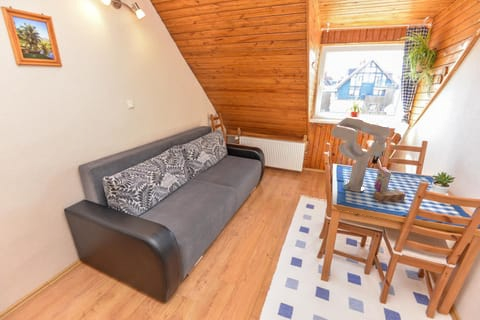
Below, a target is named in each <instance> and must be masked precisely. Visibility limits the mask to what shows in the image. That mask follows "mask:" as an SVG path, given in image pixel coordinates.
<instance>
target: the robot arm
mask: <svg viewBox="0 0 480 320" xmlns="http://www.w3.org/2000/svg"><path fill="white" fill-rule="evenodd" d="M389 127H390V126H388V125H387V124H377V123H375V122H371V121H368V120H365V119H364V118H360V117H354V116H353V117H352V116H347V117H345V118H343V119H341V120H340V121H339V122H338V123H337V124H336V125H334V126H333V128H332V129H331V135H332V136H333V138H335V139H340V140H343V141H342V142H340V144H339V145H338V152H339V153H340V154H341V155H342V156H344V157H346V158H347V159H350V160H352V161H355V162H354V163H353V164H352V165H351V170H350V175H349V179H348V181H347V182H346V183H342V186H343V187H345V188H346V189H347V190H349V191H352V192H356V193H360V192H364V191H365V188H364V187H363V184H364V180H365V176H366V171H367V167H368V165H369V162H370V159H371V157H372V162H371V163H372V164H373V165H377V164H378V161H379V159H380V160H381V159H383V156H384V155H385V151H386V150H385V149H386V141H387V138H388V137H389V136H390V134H391V129H390V128H389ZM358 132H359V133H362V134H365V135H368V136H373V137H374V139H373V141H372V143H371V145H370V149H369V150H367V149H365V148H363V147H362V146H361V145H360V144H359V143H357V141H358V138H359V133H358Z"/></svg>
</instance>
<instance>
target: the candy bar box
mask: <svg viewBox="0 0 480 320" xmlns="http://www.w3.org/2000/svg"><path fill="white" fill-rule="evenodd" d="M391 176H392V172H391V171H390V170H389V169H387V167H384V166H382V167H381V166H378V169H377V174H376V177H375V182H374V187H375V188H376V190H377V192H380V191H388V187H389V183H390V180H391Z"/></svg>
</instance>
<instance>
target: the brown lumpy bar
mask: <svg viewBox="0 0 480 320" xmlns="http://www.w3.org/2000/svg"><path fill="white" fill-rule="evenodd" d="M373 193H374V194H373V199H375V200H376V201H377V200H378V202H379V203H383V202H384V201H385V202H393V201H394V202H395V201H405V198H406V193H405V192H403V191H401V190H400V189H394V190H393V189H392V190H391V189H390V190H387V191H380V192H379V191H375V192H373ZM385 202H384V203H385Z"/></svg>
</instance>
